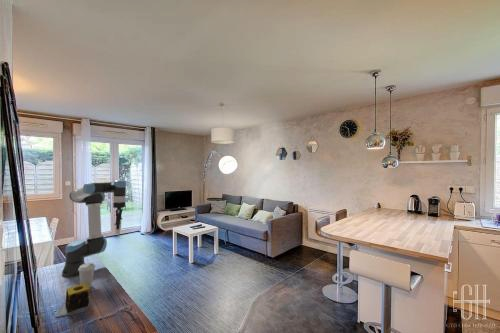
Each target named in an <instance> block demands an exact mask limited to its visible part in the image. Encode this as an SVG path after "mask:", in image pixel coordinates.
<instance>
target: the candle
mask: <svg viewBox="0 0 500 333" xmlns="http://www.w3.org/2000/svg"><path fill="white" fill-rule="evenodd" d="M65 290H66V292H65V294H66V295H65V302H66V304H65V305H66V309H67V312H71V311H74V310H77V309H80V308H82V307H85V306H88V307H89V306H90V302H89V298H90V290H91V288H89V287H88V285H87V283H84V284H80V283H79V284H77V285H73V286H70V287H66V289H65Z"/></svg>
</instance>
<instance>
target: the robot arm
mask: <svg viewBox="0 0 500 333" xmlns="http://www.w3.org/2000/svg"><path fill="white" fill-rule="evenodd" d="M126 189H127V181H126V180H123V179H121V180H120V179H118V180H116V179H115V180H114V181H110V182H108V181H107V182H86V183H84V184H83V186H82V187H81V188H76V189H73V190H72V191H71V192H69V196H68V197H69V200H71V201H72V202H73V203H75V204H85V206H86V207H87V218H88V219H87V220H88V222H87V223H88V236H87V238H86V241H85V240H84V239H80V240H75V241H72V242H70V243H68V244H67V245H66V246H65V251H64V252H65V257H64V258H65V262H64V266H63V269H62V271H61V276H62V277H64V278H71V277H77V276H79V271H78V269H79V267H80V266H81V265H83V264H86V263H85V257H89V256H93V255H99V254H100V253H101V254H102V253H104V252H105V250H106V249H107V244H108V241H107V238H106V237H105V236H104V234H102V221H101V220H102V219H101V215H102V214H101V206H102V204H103V202H104V201H105V199H106V195H105V194H109V193H112V194H113V196H112V199H113V200H112V201H113V203H112V205H113V206H112V208H114V209H115V223H114V226H115V235H120V234H121V229H122V220H123V218H122V214H123V209H122V208H125V207H126V197H127V196H126V195H127V194H126V193H127V192H126V191H127V190H126Z"/></svg>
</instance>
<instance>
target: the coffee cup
mask: <svg viewBox="0 0 500 333" xmlns="http://www.w3.org/2000/svg"><path fill="white" fill-rule="evenodd" d="M95 268H96V265H95V264H94V262H86V263H85V264H83V265H81V266H80V267H79V269H78V271H79V275H78V276H79V285H80V284H84V283H87V285H88V287H89V289H91V288H92V287H93V280H94V274H95Z"/></svg>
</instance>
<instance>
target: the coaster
mask: <svg viewBox="0 0 500 333" xmlns="http://www.w3.org/2000/svg"><path fill="white" fill-rule="evenodd" d="M91 299H92V297H89V303H90V302H91ZM65 304H66V301H65V302H62V304H61V306H60V307H59V309H58V311H57V313H56V315H55V316H54V318H56V319H57V318H62V317H65V316H71V315H77V314H80V313H85V312H86V313H87V311H88V308H89V305H88V306H85V307H82V308H80V309H77V310H74V311H71V312H67V309H66V305H65Z"/></svg>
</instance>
